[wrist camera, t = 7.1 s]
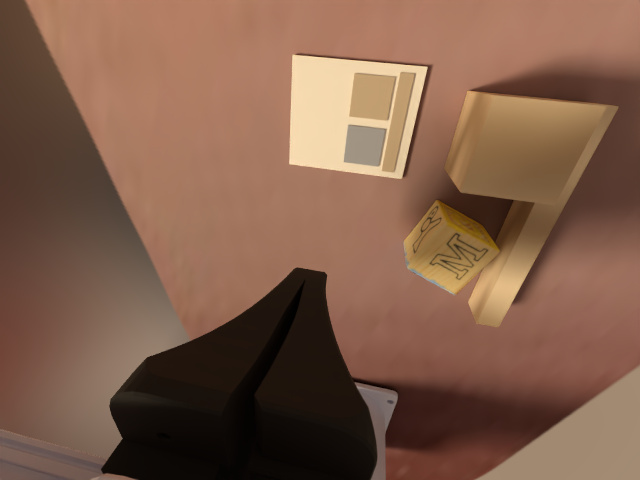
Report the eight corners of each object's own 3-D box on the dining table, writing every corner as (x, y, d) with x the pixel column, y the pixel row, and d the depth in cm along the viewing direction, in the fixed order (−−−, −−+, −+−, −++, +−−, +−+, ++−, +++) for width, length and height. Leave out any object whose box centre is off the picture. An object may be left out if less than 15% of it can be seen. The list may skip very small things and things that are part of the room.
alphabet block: (401, 240, 17) (404, 269, 14) (435, 197, 16) (446, 221, 13) (445, 264, 17) (456, 297, 15) (483, 224, 16) (503, 253, 13)
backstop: (488, 305, 18) (498, 327, 17) (468, 302, 18) (476, 323, 17) (589, 102, 12) (619, 106, 11) (558, 99, 12) (584, 102, 11)
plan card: (401, 177, 15) (402, 179, 15) (290, 163, 16) (288, 164, 16) (426, 66, 13) (428, 66, 12) (293, 55, 13) (292, 54, 13)
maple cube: (518, 177, 14) (554, 205, 11) (444, 168, 15) (460, 192, 12) (552, 99, 12) (606, 106, 9) (467, 90, 13) (493, 95, 10)
